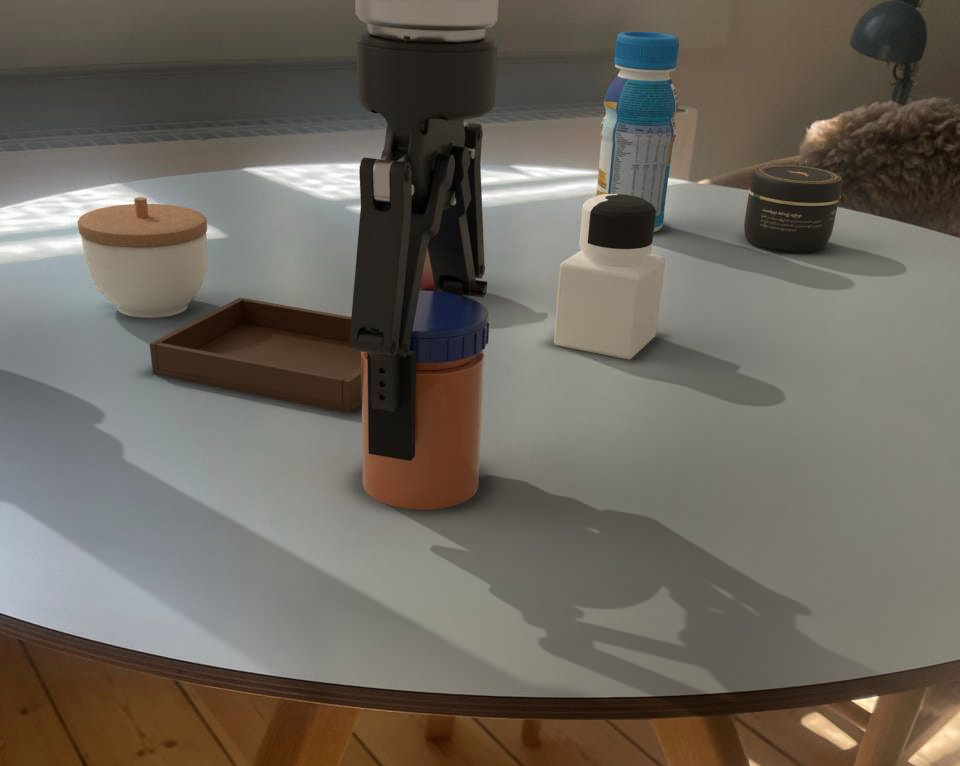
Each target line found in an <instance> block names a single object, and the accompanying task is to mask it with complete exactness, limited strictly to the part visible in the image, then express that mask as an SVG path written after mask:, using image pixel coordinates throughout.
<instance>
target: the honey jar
mask: <svg viewBox="0 0 960 766" xmlns="http://www.w3.org/2000/svg"><path fill="white" fill-rule="evenodd" d="M484 352H485V351H484V350H483V351H482V352H480V353H478V354H476V355H474V356H472V357H469V358H467V359H461V360H457V361H450V362H445V363H416V417H415V457H414V458H413V459H412V460H411V461H407V460H402V459H396V458H390V457H384V456H379V455H373V454H369V449H368V362H367V353H366V352H361V396H362V405H361V455H362V456H361V457H362V462H361V463H362V487H363V489H364V491H365V492H366V493H367V494H368V495H369V496H370V497H371V498H372V499H374V500H376V501H378V502H380V503H382V504H385V505H389V506H392V507H395V508H401V509H406V510H407V509H408V510H419V511H421V510H422V511H424V510H425V511H426V510H427V511H429V510H439V509H445V508H449V507H450V508H451V507H453V506H458V505H460V504H463V503H465V502H466V501H468V500H470V499H471V498H473V496H475V494H476V493H477V491H478V490H479V480H480V479H479V477H480V458H481V438H482V437H481V436H482V416H483V413H482V412H483V393H484V391H483V390H484V373H485V372H484V370H485V353H484Z"/></svg>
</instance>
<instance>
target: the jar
mask: <svg viewBox="0 0 960 766" xmlns="http://www.w3.org/2000/svg"><path fill="white" fill-rule="evenodd" d="M842 188H843V178H842V177H841V176H840V175H839V174H838V173H835V172H833V171H831V170H827V169H822V168H817V167H812V166H805V165H795V164H767V165H762V166H758V167H756V168H755V169H754V170H753V171H752V173H751V177H750V180H749V187H748V190H747V191H748V192H747V193H748V196H747V203H746V208H745V215H744V221H743V227H744V229H743V230H744V238H745V239H746V241H747V243H748V244H749V245H751V246H753V247H754V248H758V249H760V250H764V251H768V252H773V253H779V254H791V255H807V254H809V255H810V254H815V253H818V252H821V251H822V250H823V249H824V248H825V247H826V246H827V245H828V243H829V241H830V238H831V237H832V233H833V232H834V231H833V230H834V225H835V221H836V215H837V211H838V205H839V202H841V193H842Z"/></svg>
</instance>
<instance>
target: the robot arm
mask: <svg viewBox="0 0 960 766" xmlns="http://www.w3.org/2000/svg"><path fill="white" fill-rule="evenodd" d="M499 1H500V0H355V4H354V5H355V8H354V9H355V16H356V17H357V18H358V20H359V21H360V22H363V23H365V24H366V30H365V31H363V32H361V33H360V37H358V38H357V39H356V62H357V63H356V69H357V70H356V73H357V99H358V102H359V104H360V105H361V107H362V108H363V109H365V110H366V111H367V112H370V113H372V114H380V115H381V116H382V117H383V118H384V119H385V121H386V125H387V126H386V129H385V138H384V143H383V144H384V145H383V150H382V152H381V157H380V158H373V157H362V159H361V160H360V163H359V173H358V174H359V196H360V210H359V211H360V212H359V221H358V234H357V237H358V238H357V247H356V257H355V271H354V282H353V294H352V305H351V316H350V317H351V328H350V339H349V341H350V343H349V344H350V348H351V350H354V351H360V352H366V353H367V362H368V449H369V454H373V455H379V456H384V457H390V458H396V459H402V460H407V461H411V460H412V459H413V458H414V457H415V417H416V351H410V350H409V349H410V342H411V336H412V330H413V325H414V319H415V314H416V308H417V303H418V297H419V291H421V288H420V286H421V280H422V275H423V269H424V263H425V258H426V252H427V248H428V254H429V259H430V264H431V269H432V274H433V279H434V284H435V288H434V289H435V291H437V292H445V293H451V294H456V295H461V296H464V297H468V298H469V297H473V298H474V297H475V298H480V299H484V298H485V297H486V294H487V290H488V281H487V280H486V281H485V280H481V279H483V278H484V277H483V276H484V275H485V272H486V264H485V263H486V262H485V243H484V242H485V239H484V238H485V237H484V218H483V217H484V215H483V194H482V193H483V192H482V191H483V189H482V170H481V169H482V168H481V167H482V165H481V163H482V162H481V161H482V160H481V159H482V143H483V135H484V132H483V126H482V124H481V123H478V122H477V123H476V122H468V121H467V122H466V121H465V120H471V119H476V118H477V119H478V118H481V117H484V116H485V115H488V114H489V113H490V112H491V111H492V110H493V108H494V107H495V104H496V89H497V65H498V44H496V43H495V39H494V38H492V37H491V36H489V35H486V32H487V29H491V28H492V27H494V25H495V24H496V23H498V21H499ZM479 279H480V280H479ZM379 330H381V331H382V332H379Z"/></svg>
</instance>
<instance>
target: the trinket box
mask: <svg viewBox="0 0 960 766" xmlns="http://www.w3.org/2000/svg"><path fill="white" fill-rule="evenodd" d="M133 201H134V202H133V203H129V204H116V205H111V206H105V207H100V208H96V209H93V210H90V211H87V212H85V213H83V214H82V215H81V216H80V217H79V218H78V220H77V225H78V226H77V227H78V233H79V235H80V237H81V244H82V250H83V256H84V260H85V264H86V268H87V270H88V272H89V275H90V278H91V280H92V282H93V283H94V285H95V287H96V289H97V290H98V291H99V293H100V294H102V296H103V297H104V298H105V299H106V300H107V301H108V302H109V303H111V304H112V305H114V306H115V307H116V309H117V311H118V312H119V313H121V314H122V315H125V316H127V317H128V316H129V317H132V318H141V319H157V318H158V319H160V318H166V317H171V316H177V315H180V314H182V313H183V312H185V311H186V310H187V309H188V307H189V306H188V305H189V304H190V303H191V301H192V300H193V299H194V298H195V297H196V296H197V294H198V293H199V291H200V290H201V288H202V286H203V283H204V281H205V277H206V272H207V267H208V266H207V264H208V238H207V231H208V221H207V218H206V216H205V215H204V214H203V213H202V212H199V211H198V210H195V209H192V208H189V207H185V206H179V205H172V204H162V203H148V200H147V197H144V196H143V197H142V196H139V197H134V198H133Z"/></svg>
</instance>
